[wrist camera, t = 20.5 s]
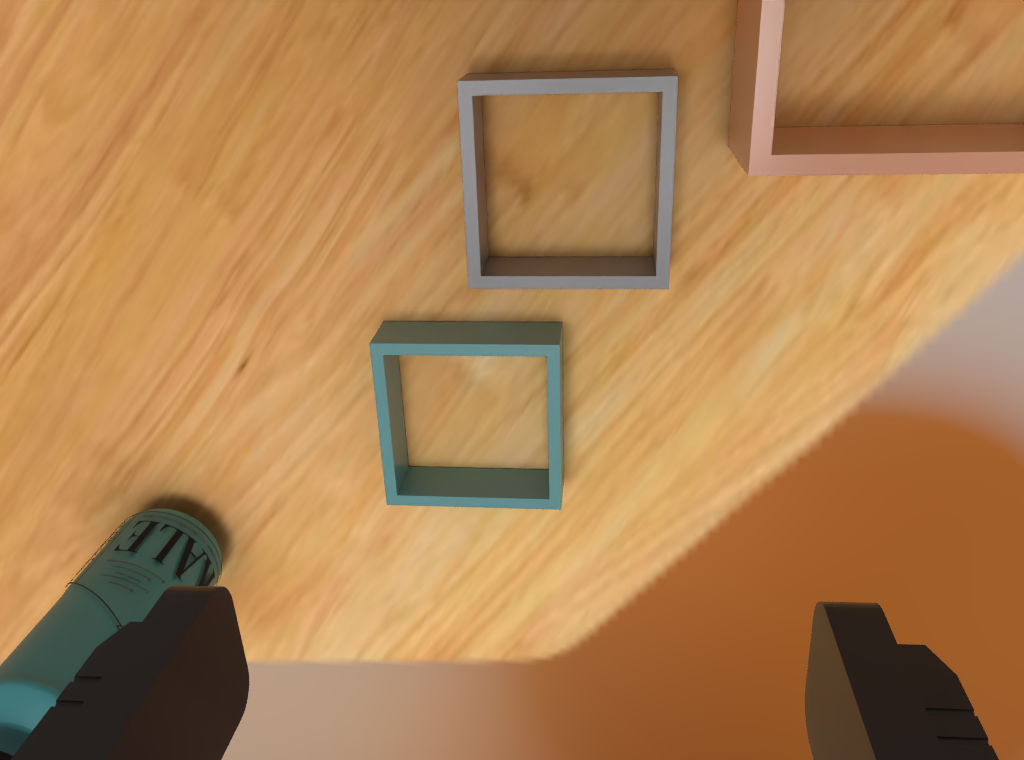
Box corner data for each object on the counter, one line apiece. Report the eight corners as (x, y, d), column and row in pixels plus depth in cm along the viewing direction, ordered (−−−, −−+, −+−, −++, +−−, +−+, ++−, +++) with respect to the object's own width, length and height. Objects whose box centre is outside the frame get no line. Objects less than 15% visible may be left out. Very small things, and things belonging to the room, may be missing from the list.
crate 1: (383, 321, 46) (369, 343, 43) (562, 322, 45) (559, 344, 42) (398, 475, 49) (386, 504, 47) (563, 479, 48) (561, 509, 46)
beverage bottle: (141, 577, 54) (-92, 879, 36) (121, 484, 52) (-141, 761, 34) (243, 584, 54) (59, 894, 36) (230, 490, 51) (22, 776, 33)
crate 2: (467, 73, 40) (457, 81, 37) (673, 68, 39) (678, 76, 36) (477, 268, 44) (468, 288, 41) (665, 268, 43) (668, 288, 40)
